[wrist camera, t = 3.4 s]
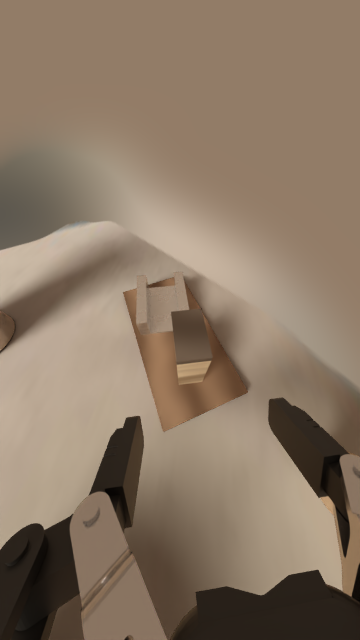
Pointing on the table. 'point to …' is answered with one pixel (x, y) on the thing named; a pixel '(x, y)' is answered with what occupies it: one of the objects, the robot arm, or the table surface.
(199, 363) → the grey-topped wooden block
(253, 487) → the table surface
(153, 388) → the board
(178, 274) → the clip
